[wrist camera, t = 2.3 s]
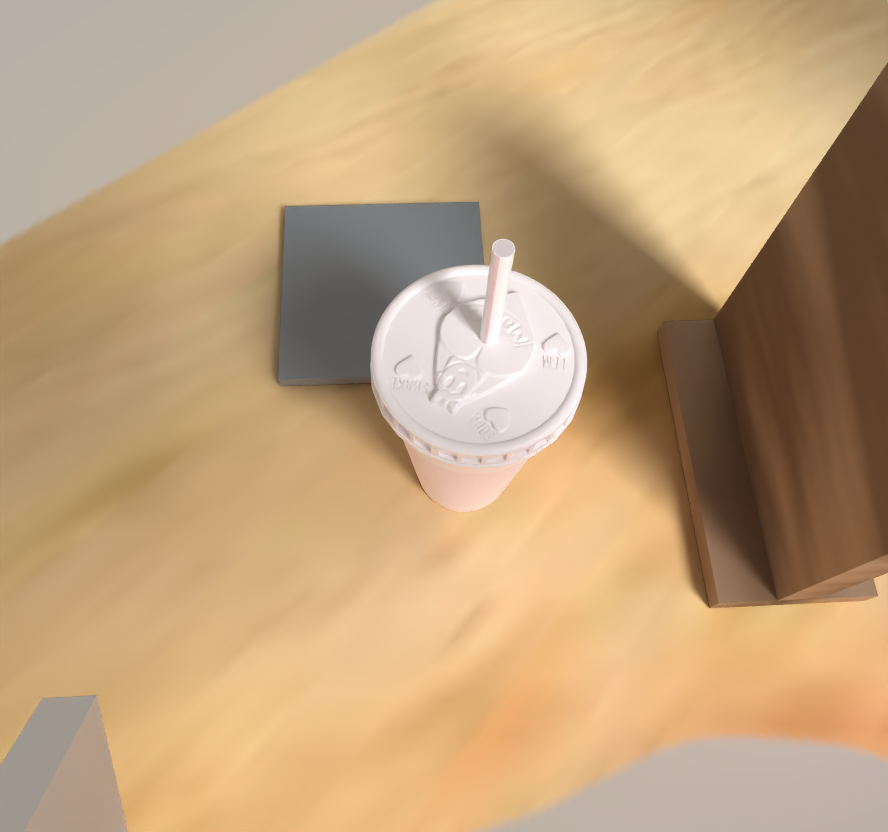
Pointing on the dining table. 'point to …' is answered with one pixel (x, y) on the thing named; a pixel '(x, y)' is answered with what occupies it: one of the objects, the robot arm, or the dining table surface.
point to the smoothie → (476, 376)
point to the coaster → (359, 278)
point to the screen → (796, 393)
